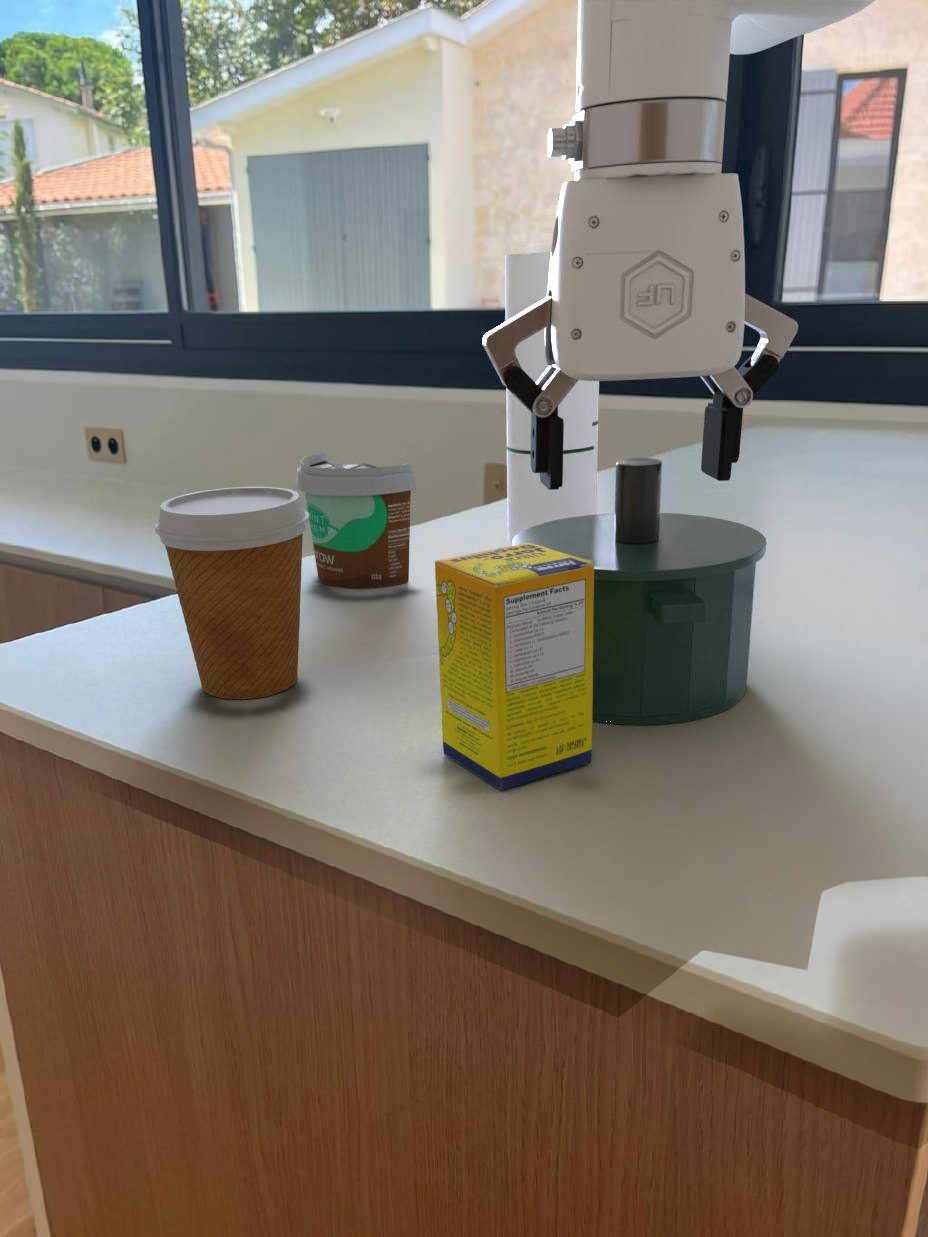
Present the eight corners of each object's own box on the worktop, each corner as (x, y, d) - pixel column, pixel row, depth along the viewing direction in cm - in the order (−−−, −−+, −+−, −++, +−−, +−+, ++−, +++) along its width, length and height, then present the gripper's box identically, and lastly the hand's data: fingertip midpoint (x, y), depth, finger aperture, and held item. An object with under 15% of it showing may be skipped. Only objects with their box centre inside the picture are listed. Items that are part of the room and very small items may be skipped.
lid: (715, 524, 73) (720, 435, 71) (806, 582, 59) (817, 475, 57) (495, 539, 72) (493, 450, 70) (537, 601, 59) (537, 493, 57)
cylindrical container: (604, 570, 94) (612, 248, 84) (581, 593, 88) (587, 249, 78) (523, 565, 96) (522, 253, 87) (496, 587, 90) (491, 255, 81)
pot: (691, 629, 78) (697, 508, 75) (801, 734, 60) (816, 582, 57) (499, 642, 77) (497, 522, 74) (554, 752, 60) (554, 601, 57)
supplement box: (528, 728, 63) (527, 539, 59) (594, 765, 58) (598, 561, 54) (438, 753, 61) (431, 557, 56) (500, 793, 56) (496, 582, 51)
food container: (275, 575, 98) (264, 461, 94) (330, 561, 101) (322, 450, 97) (363, 601, 89) (355, 475, 85) (420, 584, 92) (415, 463, 89)
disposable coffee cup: (352, 677, 72) (339, 494, 68) (236, 721, 66) (213, 523, 62) (261, 649, 79) (244, 480, 74) (148, 687, 73) (121, 505, 68)
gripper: (493, 148, 54) (494, 501, 60) (843, 134, 54) (806, 485, 61) (473, 162, 61) (475, 477, 67) (783, 150, 61) (756, 463, 68)
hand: (633, 481), depth 64 cm, fingers open, 9 cm apart
